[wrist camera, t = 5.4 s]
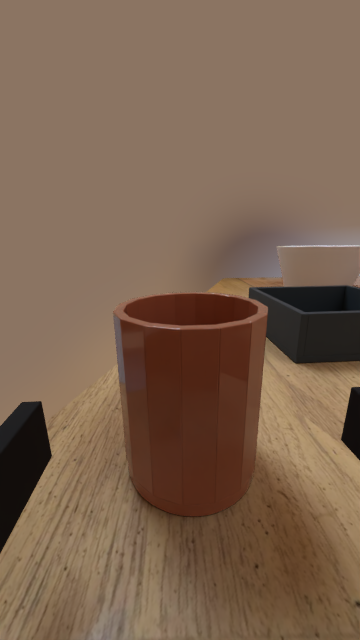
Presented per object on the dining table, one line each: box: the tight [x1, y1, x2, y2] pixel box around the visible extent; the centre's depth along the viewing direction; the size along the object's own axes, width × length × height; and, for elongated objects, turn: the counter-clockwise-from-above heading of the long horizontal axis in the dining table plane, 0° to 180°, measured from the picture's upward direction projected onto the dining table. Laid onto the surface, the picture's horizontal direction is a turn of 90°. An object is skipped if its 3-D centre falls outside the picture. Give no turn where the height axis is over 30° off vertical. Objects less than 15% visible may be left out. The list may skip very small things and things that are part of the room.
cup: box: [113, 292, 268, 516], centre depth 15 cm, size 8×8×10 cm
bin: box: [249, 285, 360, 363], centre depth 37 cm, size 18×18×6 cm
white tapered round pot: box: [277, 246, 360, 287], centre depth 74 cm, size 24×24×12 cm
